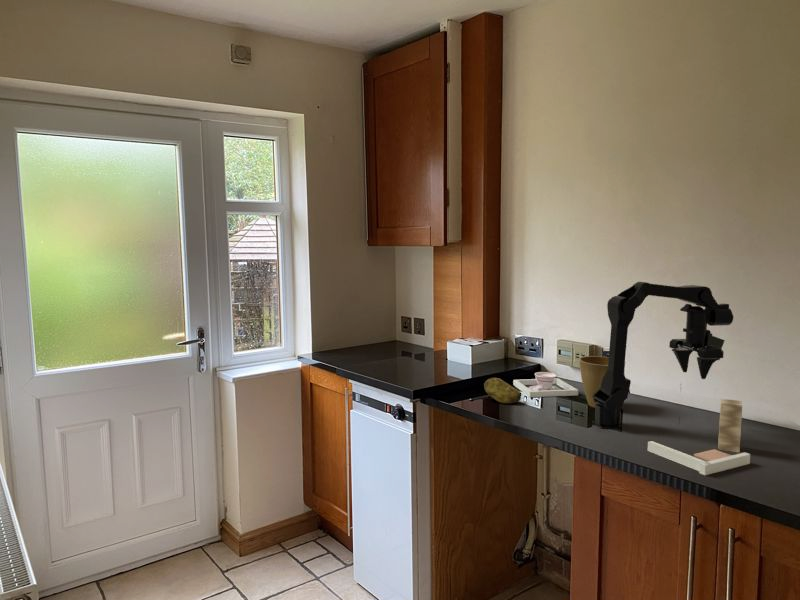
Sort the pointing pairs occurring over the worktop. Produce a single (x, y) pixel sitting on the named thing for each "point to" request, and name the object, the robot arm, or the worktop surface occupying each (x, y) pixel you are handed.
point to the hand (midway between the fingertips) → (693, 375)
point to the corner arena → (713, 457)
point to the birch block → (730, 425)
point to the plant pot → (592, 375)
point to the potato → (501, 391)
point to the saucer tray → (546, 393)
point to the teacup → (544, 381)
